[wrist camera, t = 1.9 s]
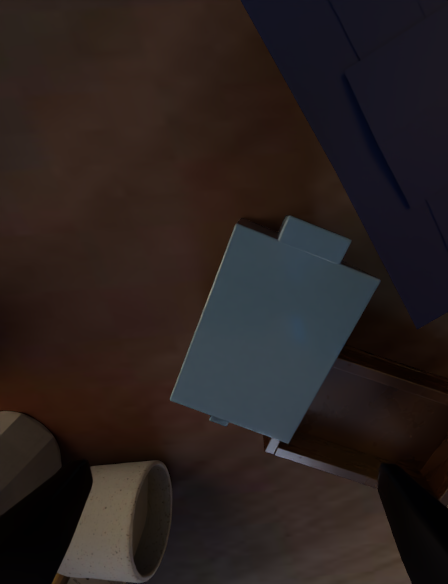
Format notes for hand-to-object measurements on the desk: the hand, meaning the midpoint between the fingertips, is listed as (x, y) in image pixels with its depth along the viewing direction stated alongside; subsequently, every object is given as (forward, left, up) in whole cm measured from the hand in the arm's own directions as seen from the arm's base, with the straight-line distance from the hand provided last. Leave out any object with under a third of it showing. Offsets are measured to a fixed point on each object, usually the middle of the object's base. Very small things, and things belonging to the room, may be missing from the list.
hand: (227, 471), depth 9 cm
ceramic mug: (+4, +20, -14) cm, 25 cm away
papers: (-11, -22, -14) cm, 28 cm away
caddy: (-12, +4, -13) cm, 19 cm away
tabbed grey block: (0, -3, -13) cm, 14 cm away
